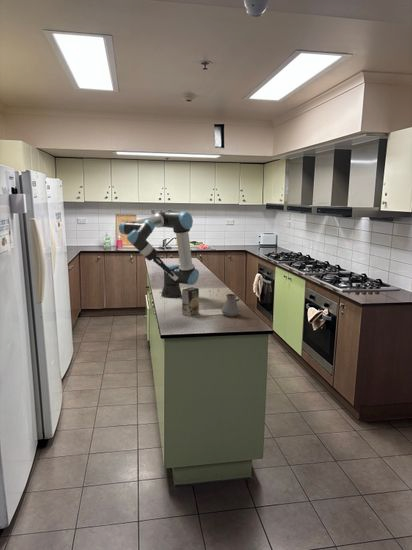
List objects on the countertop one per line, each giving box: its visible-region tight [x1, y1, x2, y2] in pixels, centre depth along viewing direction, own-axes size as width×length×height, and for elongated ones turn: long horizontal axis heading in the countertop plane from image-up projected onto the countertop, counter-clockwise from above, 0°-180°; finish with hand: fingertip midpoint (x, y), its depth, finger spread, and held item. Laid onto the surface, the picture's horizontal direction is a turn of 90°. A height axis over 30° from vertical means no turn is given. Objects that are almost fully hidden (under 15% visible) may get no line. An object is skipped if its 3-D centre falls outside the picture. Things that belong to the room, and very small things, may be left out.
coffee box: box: [181, 286, 200, 317], centre depth 249 cm, size 9×6×16 cm
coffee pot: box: [221, 293, 241, 318], centre depth 244 cm, size 21×12×15 cm, turn 13°
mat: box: [197, 308, 225, 317], centre depth 255 cm, size 12×18×1 cm, turn 109°
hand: (175, 278), depth 243 cm, fingers open, 6 cm apart
